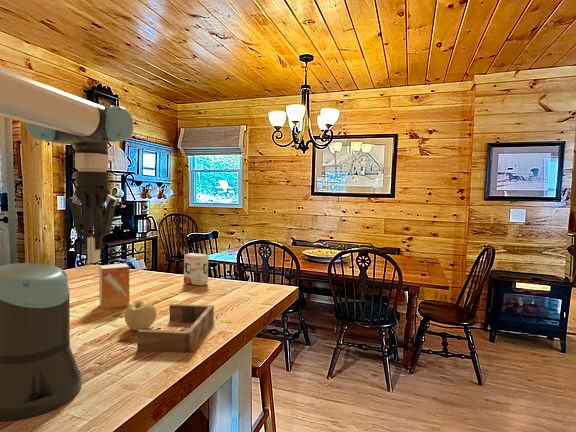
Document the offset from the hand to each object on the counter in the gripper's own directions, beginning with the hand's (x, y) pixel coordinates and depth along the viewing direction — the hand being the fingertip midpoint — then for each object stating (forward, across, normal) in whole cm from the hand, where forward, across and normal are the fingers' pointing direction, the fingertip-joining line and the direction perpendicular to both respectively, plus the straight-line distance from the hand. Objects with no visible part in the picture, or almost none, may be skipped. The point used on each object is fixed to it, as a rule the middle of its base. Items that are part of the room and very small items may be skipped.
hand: (93, 261), depth 97 cm
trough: (+18, -23, 0) cm, 29 cm away
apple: (+19, -11, -2) cm, 22 cm away
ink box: (+19, -11, -52) cm, 56 cm away
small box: (+19, +6, -21) cm, 29 cm away
